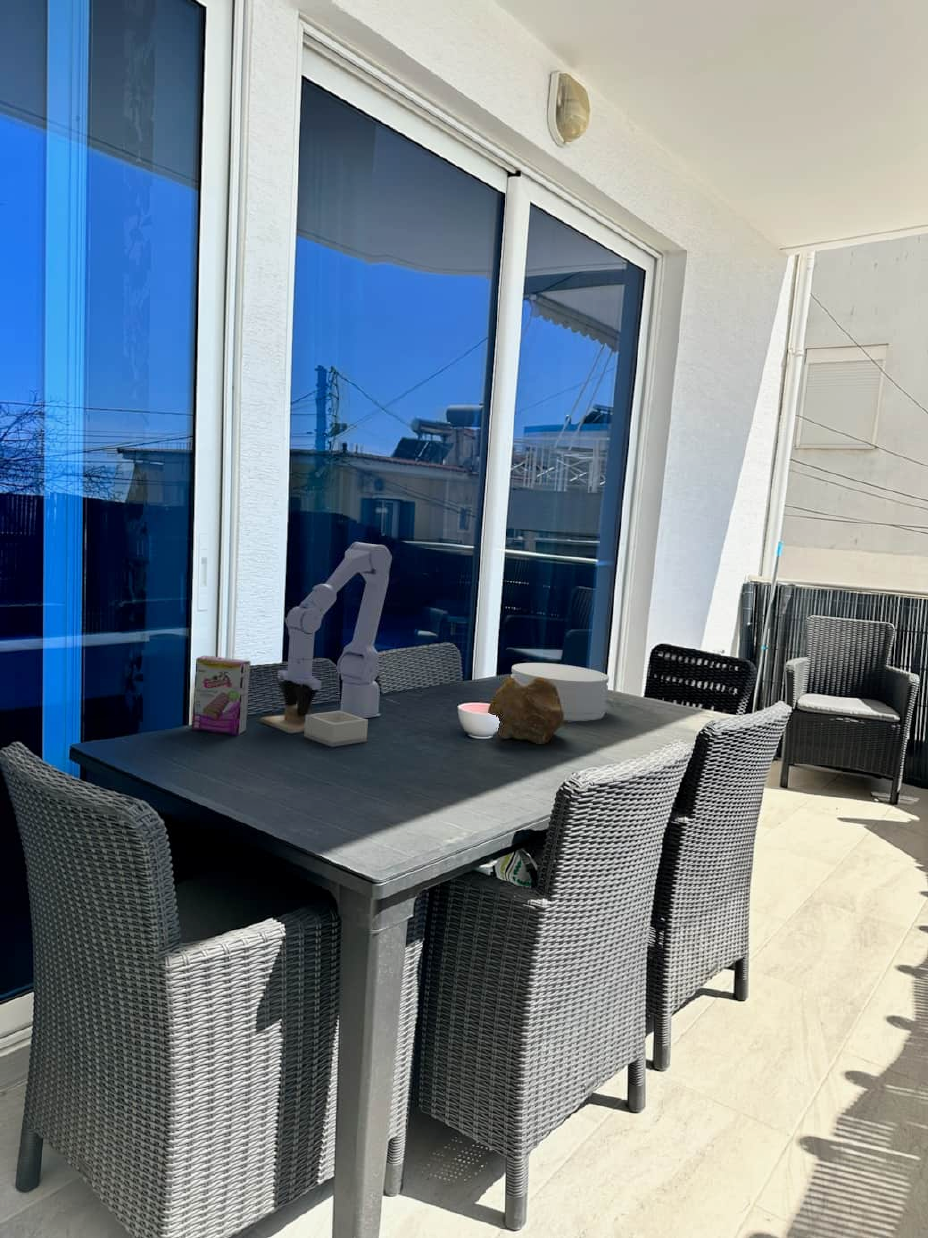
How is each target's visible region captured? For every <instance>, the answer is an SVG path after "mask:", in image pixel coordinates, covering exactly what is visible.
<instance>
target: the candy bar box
mask: <svg viewBox="0 0 928 1238" xmlns="http://www.w3.org/2000/svg"><path fill="white" fill-rule="evenodd" d="M194 673H195V674H194V687H193V689H194V690H193V691H194V692H193V705H192V718H191V720H192V722H191V729H192V730H197V731H202V732H212V733H218V734H219V733H220V734H229V735H235V736H236V735H237V736H240V735H241V734H242V733H243V732H245V731H246V730H247V716H248V715H247V714H248V702H249V701H248V700H249V687H250V674H251V661H250V660H246V659H237V658H230V657H229V658H228V657H222V656H221V657H220V656H213V655H212V656H211V655H202V656H199V657H198V656H197V658H196V659H195V672H194Z"/></svg>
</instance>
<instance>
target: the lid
mask: <svg viewBox="0 0 928 1238" xmlns="http://www.w3.org/2000/svg"><path fill="white" fill-rule="evenodd" d="M284 705H285V704H284ZM309 711H310V709H309V710H308V713H307V715H309ZM305 718H306V716H298V703H297V704H293V705H285V706H284V714H281V715H273V716H264V717H260V723H262V724H265V725H267V726H271V727H272V728H276V729H278V730H281V731H282V732H286V733H289V734H293V733H301V732H305Z"/></svg>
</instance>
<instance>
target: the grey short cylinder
mask: <svg viewBox="0 0 928 1238" xmlns="http://www.w3.org/2000/svg"><path fill="white" fill-rule="evenodd" d="M511 673H512V674H511V675H510V677H512V678H514V679H515V681H516V682H518V683H519V684H520V685H521V686H527V685H528V684H529V683H530V682H531V681H532V680H533V679H535V678H536V677H542V678H545V679H547V680H550V681H551V682H552V683H553V684H554V685H555V686H556V689H557V692H558V696H559V699H560V703H561V709H562V710H563V713H564V718H563V719H570V720H571V719H572V720H581V719H582V720H583V719H594V718H597V717H600V716H602V715H604V714H605V715H606V707H607V703H606V701H607V699H608V697H607V696H608V694H607V692H608V689H609V685H608V683H609V680H610V676H609V675H607V674H605V673H604V672H601V671H598V670H595V669H590V668H586V667H581V666H576V665H575V666H574V665H570V664H569V665H568V664H561V663H559V664H558V663H548V662H524V663H516V664H513V665H512V666H511Z"/></svg>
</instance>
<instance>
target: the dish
mask: <svg viewBox="0 0 928 1238" xmlns="http://www.w3.org/2000/svg"><path fill="white" fill-rule="evenodd" d="M368 724H369V719H368V718H361V717H358V716H355V715H352V714H349V713H346V712H343V711H340V710H334V712H333V711H328V712H318V713H310V714H309V715H306V718H305V731H303V733H304V736H303V737H305V738H308V739H310V740H313V741H315V742H317V743H321V744H323V745H326V746H329V747H330V748H333V747H340V746H345V745H346V746H347V745H351V744H359V743H364V742H367V738H368Z"/></svg>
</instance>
